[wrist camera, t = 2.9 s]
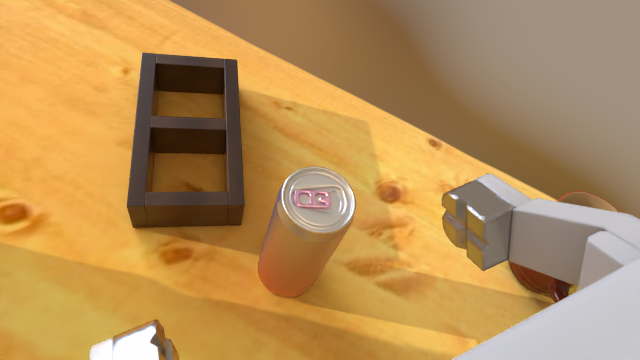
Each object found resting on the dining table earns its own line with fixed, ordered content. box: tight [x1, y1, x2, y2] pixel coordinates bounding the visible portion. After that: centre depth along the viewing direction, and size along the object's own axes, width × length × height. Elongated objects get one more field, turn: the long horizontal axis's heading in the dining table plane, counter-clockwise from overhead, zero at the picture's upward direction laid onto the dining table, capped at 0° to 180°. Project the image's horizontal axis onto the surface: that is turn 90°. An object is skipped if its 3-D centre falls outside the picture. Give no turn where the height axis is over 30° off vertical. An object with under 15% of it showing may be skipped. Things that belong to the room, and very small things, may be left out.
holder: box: [127, 53, 245, 228], centre depth 48 cm, size 10×20×4 cm, turn 7°
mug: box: [508, 191, 620, 303], centre depth 46 cm, size 12×9×10 cm
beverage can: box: [258, 167, 356, 297], centre depth 38 cm, size 6×6×15 cm
